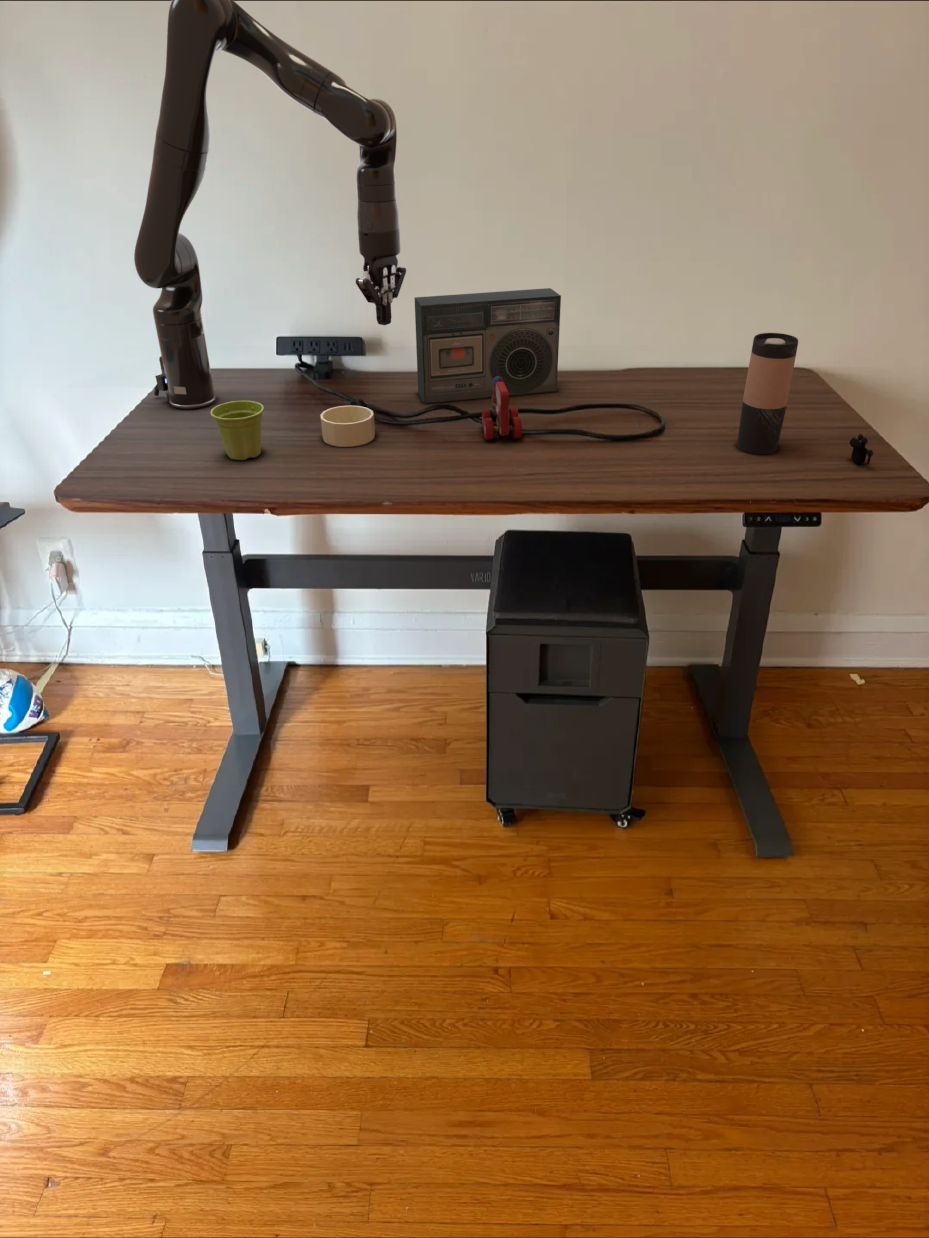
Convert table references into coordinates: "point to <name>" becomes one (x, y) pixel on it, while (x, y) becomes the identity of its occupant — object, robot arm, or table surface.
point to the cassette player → (487, 343)
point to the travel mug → (766, 392)
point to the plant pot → (240, 428)
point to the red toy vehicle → (501, 414)
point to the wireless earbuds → (860, 450)
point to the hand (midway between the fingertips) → (384, 324)
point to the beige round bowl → (347, 426)
